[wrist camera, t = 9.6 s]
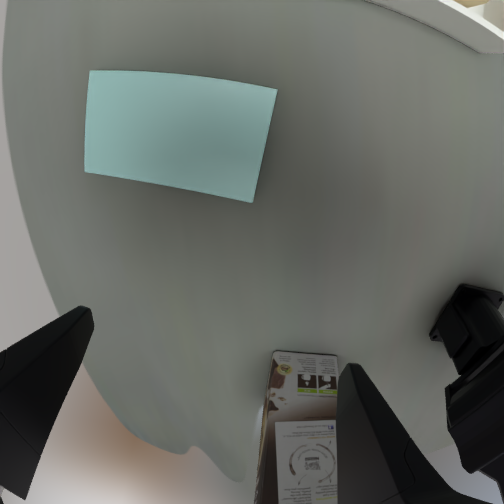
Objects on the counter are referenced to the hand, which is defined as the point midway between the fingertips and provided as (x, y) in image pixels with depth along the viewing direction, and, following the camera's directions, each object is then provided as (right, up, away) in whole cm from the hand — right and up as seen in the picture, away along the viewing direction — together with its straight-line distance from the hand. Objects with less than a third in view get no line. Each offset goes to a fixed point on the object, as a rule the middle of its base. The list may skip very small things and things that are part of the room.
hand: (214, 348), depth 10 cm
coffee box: (+6, -10, +21) cm, 24 cm away
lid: (-4, +11, +9) cm, 15 cm away
